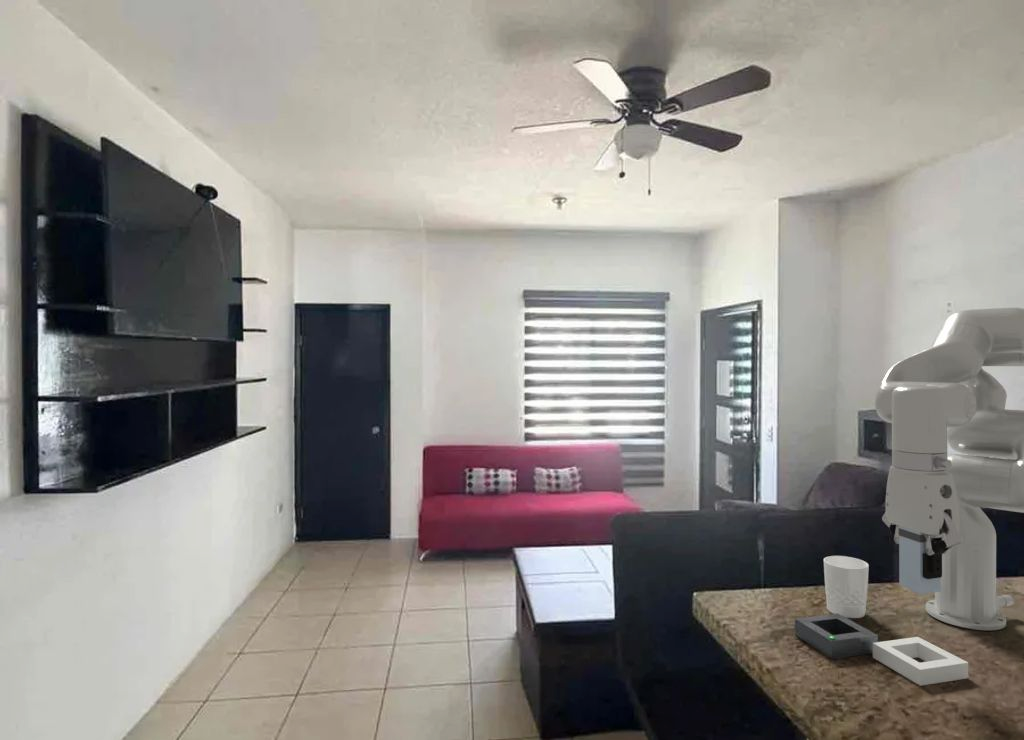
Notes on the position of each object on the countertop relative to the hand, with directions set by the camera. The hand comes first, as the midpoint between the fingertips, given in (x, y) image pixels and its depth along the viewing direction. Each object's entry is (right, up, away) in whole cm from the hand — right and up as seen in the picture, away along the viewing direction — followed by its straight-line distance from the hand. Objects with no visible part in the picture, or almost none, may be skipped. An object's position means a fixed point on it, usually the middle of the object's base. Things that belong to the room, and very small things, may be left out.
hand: (919, 571), depth 100 cm
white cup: (0, -16, +22) cm, 27 cm away
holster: (0, -16, 0) cm, 16 cm away
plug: (0, -3, 0) cm, 3 cm away
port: (-9, -16, +9) cm, 20 cm away
